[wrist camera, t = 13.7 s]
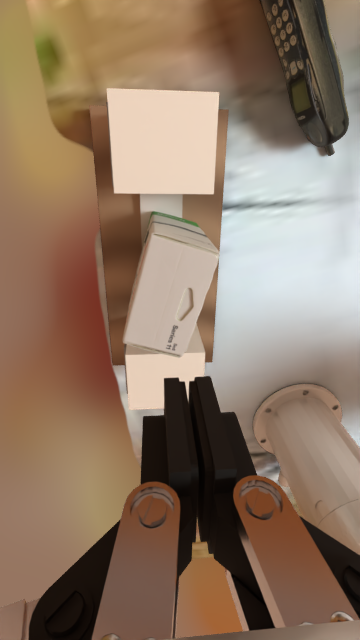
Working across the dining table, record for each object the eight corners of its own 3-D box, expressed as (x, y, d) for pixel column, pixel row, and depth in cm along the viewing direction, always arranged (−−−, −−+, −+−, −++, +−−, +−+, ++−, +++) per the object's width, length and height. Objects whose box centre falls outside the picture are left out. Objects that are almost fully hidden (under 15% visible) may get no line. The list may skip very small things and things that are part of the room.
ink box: (151, 208, 30) (151, 227, 19) (199, 223, 31) (225, 249, 20) (129, 291, 33) (119, 347, 23) (174, 303, 34) (184, 361, 24)
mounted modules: (192, 361, 38) (202, 406, 30) (130, 364, 37) (125, 409, 30) (200, 114, 27) (219, 92, 20) (115, 111, 27) (101, 88, 19)
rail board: (210, 355, 40) (213, 364, 38) (114, 358, 39) (112, 368, 37) (224, 112, 29) (230, 108, 27) (92, 108, 28) (88, 103, 26)
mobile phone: (267, -50, 21) (336, 163, 27) (308, -79, 21) (369, 144, 27) (247, -9, 26) (310, 166, 32) (281, -33, 26) (338, 149, 31)
